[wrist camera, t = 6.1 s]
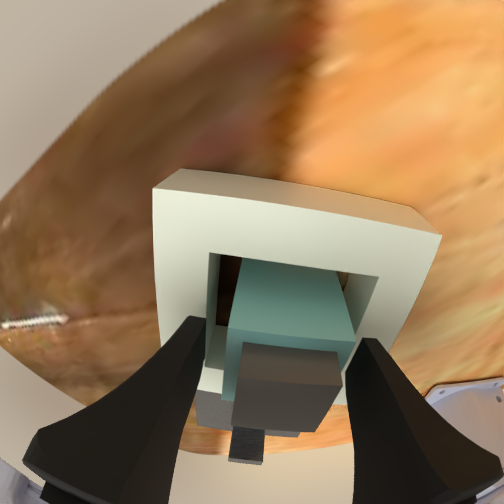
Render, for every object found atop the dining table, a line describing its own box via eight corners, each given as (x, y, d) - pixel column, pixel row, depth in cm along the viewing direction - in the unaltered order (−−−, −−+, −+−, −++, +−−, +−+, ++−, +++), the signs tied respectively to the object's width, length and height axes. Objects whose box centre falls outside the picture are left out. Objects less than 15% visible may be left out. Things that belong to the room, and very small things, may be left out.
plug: (332, 260, 13) (365, 375, 7) (312, 326, 15) (323, 438, 9) (244, 247, 13) (220, 362, 7) (236, 316, 15) (215, 428, 9)
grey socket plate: (327, 374, 17) (332, 422, 13) (297, 431, 20) (297, 469, 17) (197, 357, 17) (183, 405, 14) (198, 419, 21) (189, 456, 17)
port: (411, 206, 11) (442, 235, 9) (347, 364, 16) (355, 404, 14) (180, 168, 12) (153, 188, 9) (180, 343, 16) (166, 382, 14)
